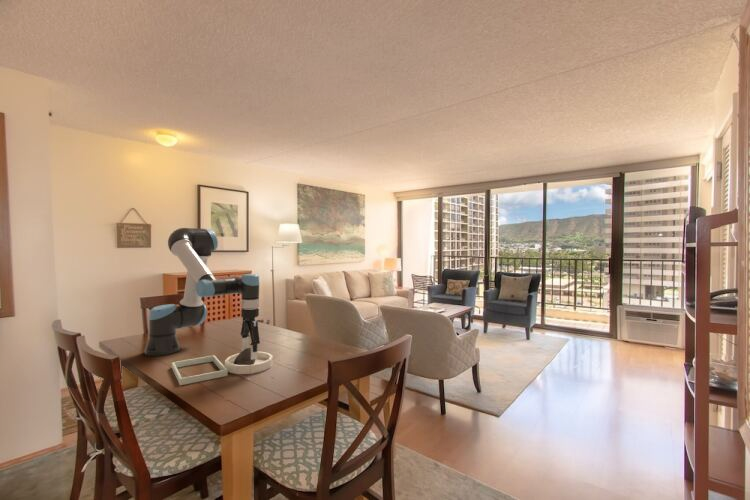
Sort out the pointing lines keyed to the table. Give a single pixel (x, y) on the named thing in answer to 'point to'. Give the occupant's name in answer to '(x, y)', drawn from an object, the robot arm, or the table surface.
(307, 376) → the table surface
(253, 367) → the bowl
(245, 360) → the stone
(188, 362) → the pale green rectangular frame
